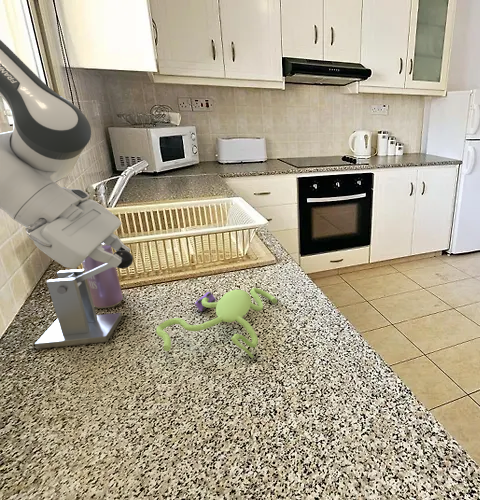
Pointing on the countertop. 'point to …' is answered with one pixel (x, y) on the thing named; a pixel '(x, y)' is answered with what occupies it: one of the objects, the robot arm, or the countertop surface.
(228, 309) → the figurine
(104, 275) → the beverage can
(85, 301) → the bracket
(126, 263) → the faucet lever
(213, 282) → the countertop surface
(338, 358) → the countertop surface
